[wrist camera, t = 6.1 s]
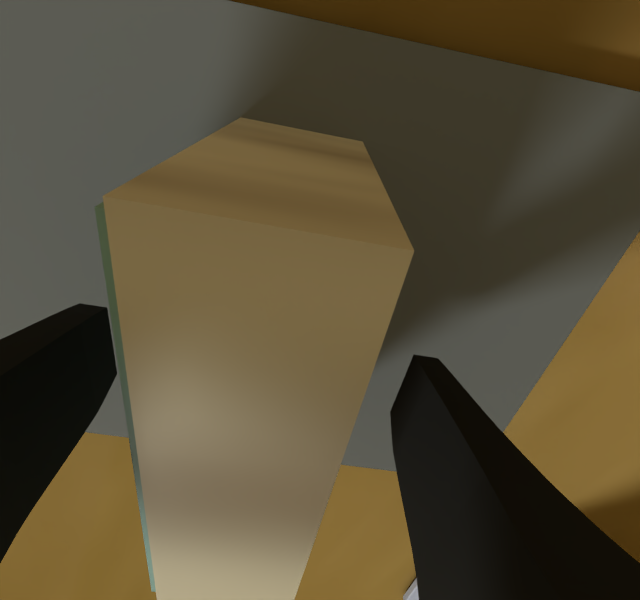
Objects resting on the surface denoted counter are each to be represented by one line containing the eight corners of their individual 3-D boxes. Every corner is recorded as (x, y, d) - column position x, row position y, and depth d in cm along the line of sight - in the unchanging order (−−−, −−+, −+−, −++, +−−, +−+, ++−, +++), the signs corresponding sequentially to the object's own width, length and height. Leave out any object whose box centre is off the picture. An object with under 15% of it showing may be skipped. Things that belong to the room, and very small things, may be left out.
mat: (697, 107, 9) (721, 109, 8) (465, 467, 16) (470, 480, 15) (-147, -80, 7) (-184, -92, 7) (27, 410, 14) (16, 423, 14)
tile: (302, 407, 13) (287, 619, 8) (218, 395, 13) (148, 606, 8) (362, 141, 9) (414, 251, 3) (231, 115, 8) (78, 192, 3)
